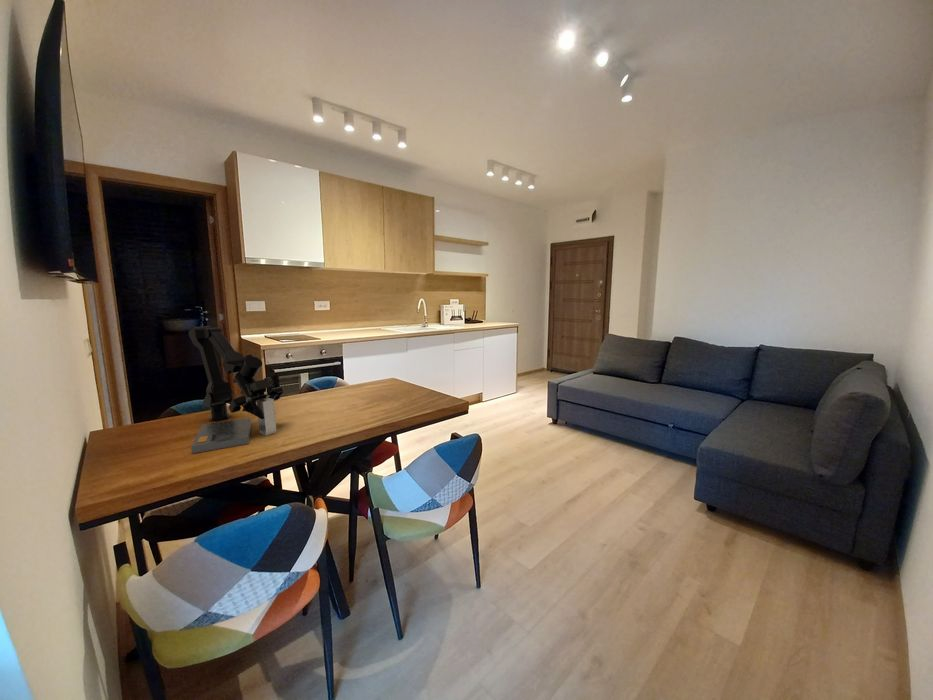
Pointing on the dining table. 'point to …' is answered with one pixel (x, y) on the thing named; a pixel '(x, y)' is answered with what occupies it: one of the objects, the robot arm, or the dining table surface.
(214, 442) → the flange plate
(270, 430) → the steel peg
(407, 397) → the dining table surface
